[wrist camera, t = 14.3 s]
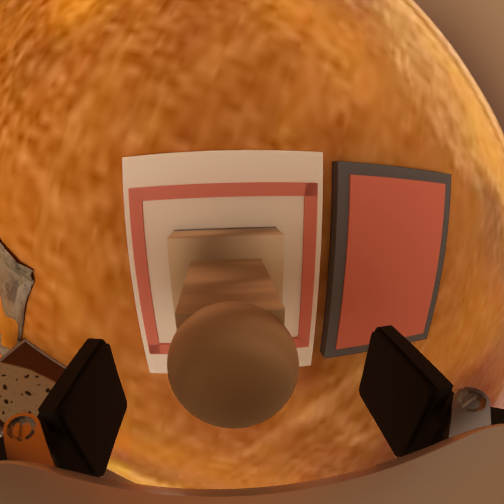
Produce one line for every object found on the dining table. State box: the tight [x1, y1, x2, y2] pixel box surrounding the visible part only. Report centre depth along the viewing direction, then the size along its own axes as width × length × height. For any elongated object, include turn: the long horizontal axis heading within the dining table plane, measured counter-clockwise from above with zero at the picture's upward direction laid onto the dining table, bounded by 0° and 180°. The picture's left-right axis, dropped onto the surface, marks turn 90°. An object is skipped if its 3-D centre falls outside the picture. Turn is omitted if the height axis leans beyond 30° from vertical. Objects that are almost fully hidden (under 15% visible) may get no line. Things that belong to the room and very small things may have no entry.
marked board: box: [122, 150, 323, 373], centre depth 18 cm, size 12×15×1 cm
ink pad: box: [320, 161, 451, 358], centre depth 19 cm, size 10×14×1 cm
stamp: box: [167, 226, 299, 428], centre depth 13 cm, size 6×6×11 cm
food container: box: [0, 338, 106, 478], centre depth 15 cm, size 12×6×10 cm, turn 58°
